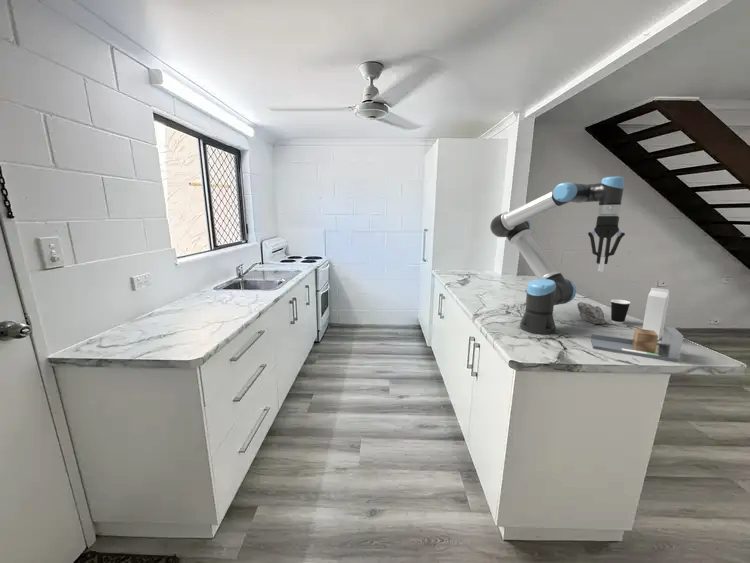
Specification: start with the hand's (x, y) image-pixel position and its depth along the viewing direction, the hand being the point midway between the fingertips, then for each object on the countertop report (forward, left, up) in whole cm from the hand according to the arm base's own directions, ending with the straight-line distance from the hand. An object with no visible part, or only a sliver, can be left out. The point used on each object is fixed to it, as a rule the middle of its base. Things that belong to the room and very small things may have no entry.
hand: (600, 271), depth 137 cm
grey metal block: (+23, -12, -28) cm, 39 cm away
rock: (+1, +24, -30) cm, 38 cm away
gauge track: (+12, -12, -29) cm, 34 cm away
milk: (+23, +11, -30) cm, 39 cm away
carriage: (+16, -13, -28) cm, 35 cm away
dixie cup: (+13, +28, -30) cm, 43 cm away
